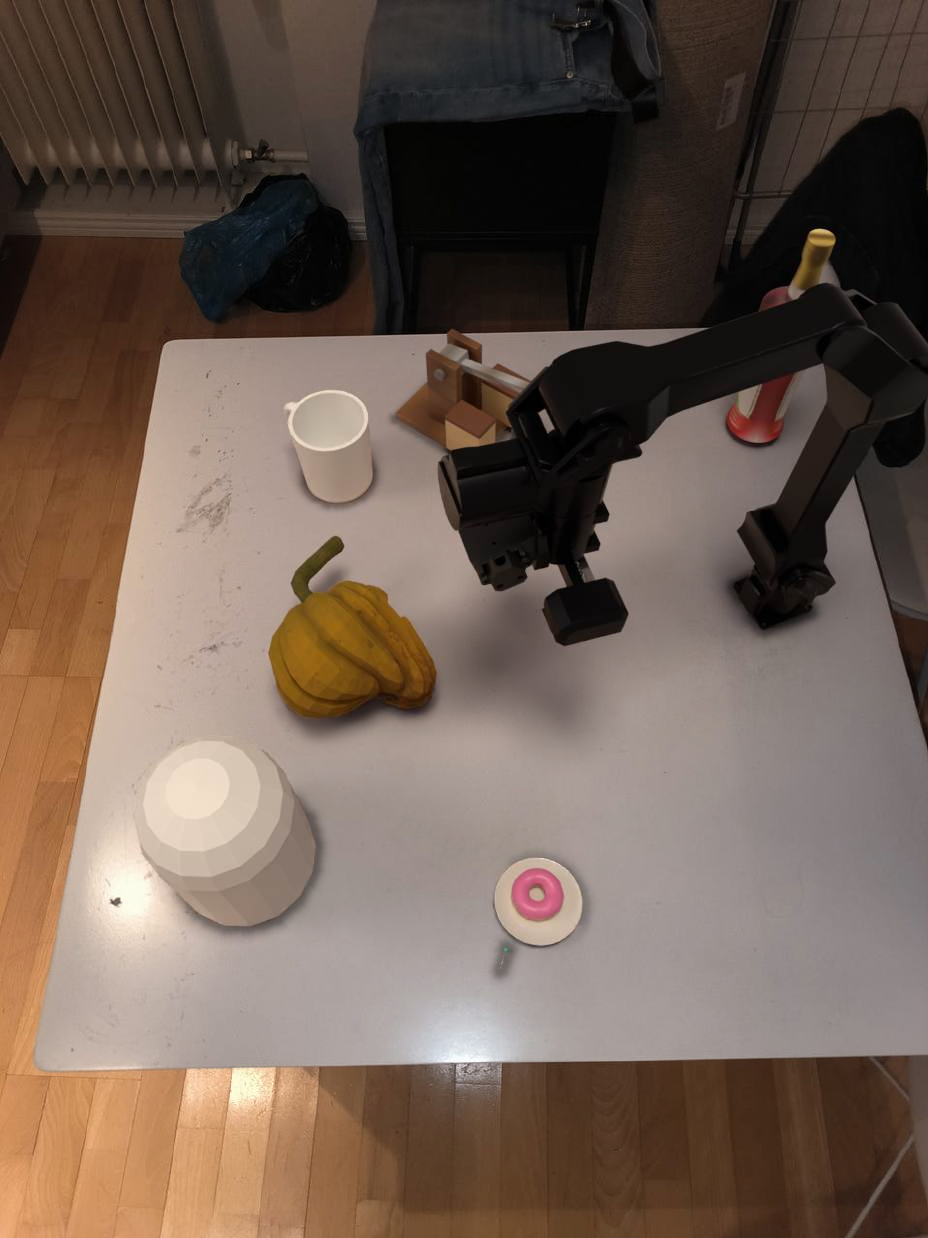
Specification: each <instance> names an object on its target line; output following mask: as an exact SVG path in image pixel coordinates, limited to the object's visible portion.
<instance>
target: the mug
mask: <svg viewBox="0 0 928 1238" xmlns="http://www.w3.org/2000/svg"><path fill="white" fill-rule="evenodd" d="M283 416H284V420H285V422H286V424H287V427H288V430H289V433H290V436H291V437H290V438H291V439H292V442H293V446H294V449H295V452H296V455H297V458H298V461H299V463H300V468H301V470H302V474H303V476H304V479H305V483H306V485H307V488H308V490H309V491H310V493H311V494H312V495H313V496H314V497H316V498H317V499H319V500H320V501H323V502H325V503H329V504H337V505H338V504H346V503H349V502H352V501H355V500H357V499H358V498H360V497H362V496H363V495H364V494H365V493H366V492H367V491H368V490H369V488H370V487H371V485H372V482H373V479H374V472H373V471H374V469H373V460H372V459H373V458H372V457H373V456H372V447H371V435H370V434H371V433H370V422H369V421H370V420H369V412H368V410H367V408H366V404H364V403H363V402H362V401H361V399H360V398H358V397H357V396H356V395H354V394H352V393H350V392H346V391H344V390H337V389H326V390H320V391H315V392H312V393H310V394H309V395H308V394H307V396H304V397H303V398H302V399H301V400H299V401H298V402H296V401H290V402H287V403H285V405H284V407H283Z"/></svg>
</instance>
